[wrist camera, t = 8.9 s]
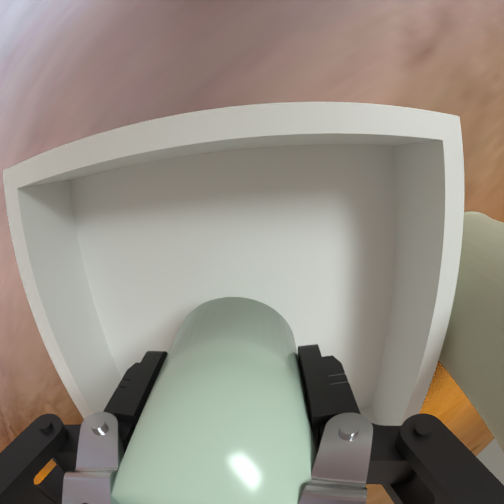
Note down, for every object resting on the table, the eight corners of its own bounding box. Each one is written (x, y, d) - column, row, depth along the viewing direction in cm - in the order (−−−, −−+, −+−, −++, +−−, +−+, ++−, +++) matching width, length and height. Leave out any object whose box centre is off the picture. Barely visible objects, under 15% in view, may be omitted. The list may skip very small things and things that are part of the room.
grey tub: (65, 165, 13) (2, 170, 8) (400, 128, 12) (459, 116, 7) (136, 415, 18) (115, 463, 13) (377, 404, 17) (399, 454, 12)
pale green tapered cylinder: (166, 299, 11) (65, 467, 3) (293, 291, 11) (344, 491, 3) (190, 391, 12) (151, 539, 5) (295, 387, 12) (317, 546, 4)
